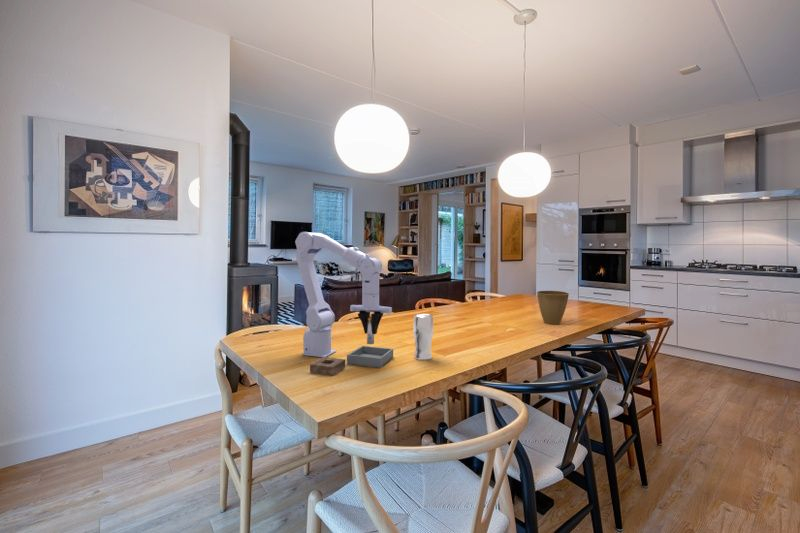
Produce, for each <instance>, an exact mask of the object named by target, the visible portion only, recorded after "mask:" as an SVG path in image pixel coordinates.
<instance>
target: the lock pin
mask: <svg viewBox="0 0 800 533" xmlns="http://www.w3.org/2000/svg"><path fill="white" fill-rule="evenodd" d="M372 328H373V324H372V317H371V315H370V317H367V334H366V344H367V345H374V344H375V334H373V332H372Z"/></svg>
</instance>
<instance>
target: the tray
mask: <svg viewBox="0 0 800 533" xmlns="http://www.w3.org/2000/svg"><path fill="white" fill-rule="evenodd" d="M393 358H394V349H393V348H389V347H388V348H387V347H380V346H379V347H378V346H369V345H361V346H359V347H357V348H356V349H355V350H352V351H350V353H348V354H346V364H347V365H352V366H359V367H369V368H378V369H381V368H382V367H383V366H384V365H386V364H387V363H389V362H390V361H391V360H392V359H393Z"/></svg>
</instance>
